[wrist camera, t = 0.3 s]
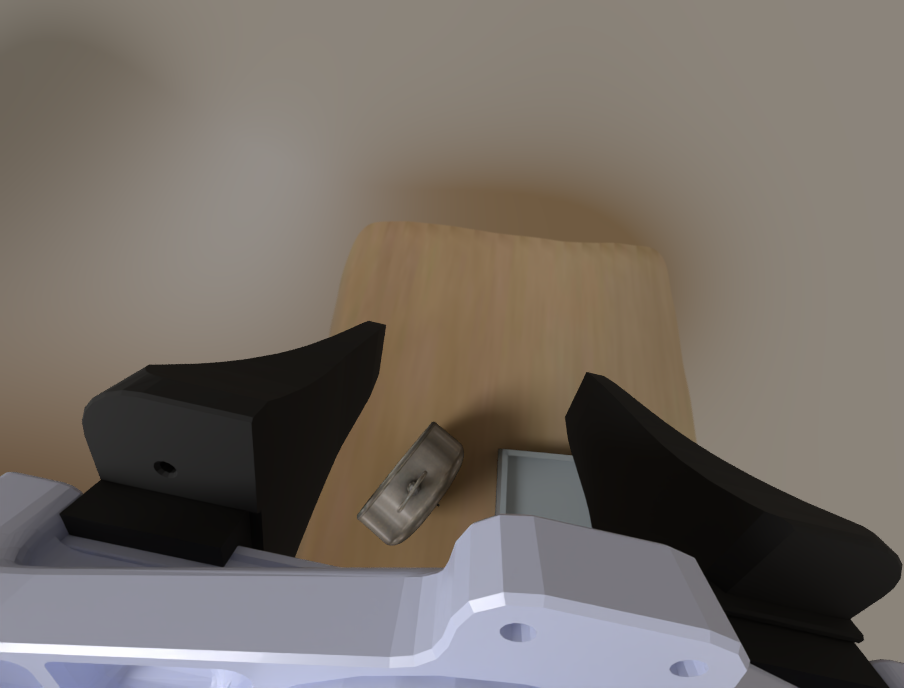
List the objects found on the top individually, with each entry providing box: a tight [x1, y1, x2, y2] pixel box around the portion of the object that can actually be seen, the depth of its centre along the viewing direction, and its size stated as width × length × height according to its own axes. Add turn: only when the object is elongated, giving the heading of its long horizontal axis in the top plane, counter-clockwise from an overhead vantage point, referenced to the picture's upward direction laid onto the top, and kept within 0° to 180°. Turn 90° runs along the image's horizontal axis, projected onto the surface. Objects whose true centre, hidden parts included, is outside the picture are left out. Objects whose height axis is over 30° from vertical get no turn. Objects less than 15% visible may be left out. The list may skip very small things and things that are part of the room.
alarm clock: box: [357, 422, 464, 545], centre depth 31 cm, size 11×5×16 cm, turn 141°
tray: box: [495, 449, 592, 528], centre depth 38 cm, size 11×12×2 cm
